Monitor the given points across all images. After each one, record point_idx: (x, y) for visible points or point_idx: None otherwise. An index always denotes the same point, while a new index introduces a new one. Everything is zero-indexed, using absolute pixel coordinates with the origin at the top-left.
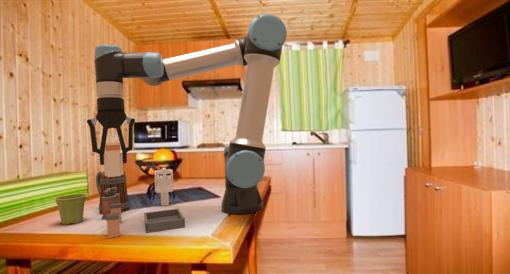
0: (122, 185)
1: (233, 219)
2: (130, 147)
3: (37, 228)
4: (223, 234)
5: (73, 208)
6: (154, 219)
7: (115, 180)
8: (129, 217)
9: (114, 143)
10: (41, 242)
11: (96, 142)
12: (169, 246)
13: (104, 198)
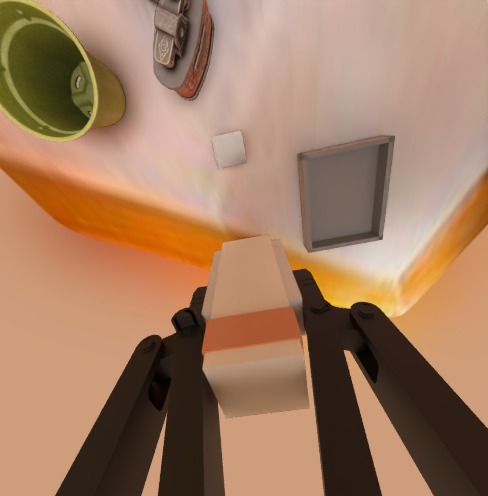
0: None
1: (476, 208)
2: (366, 355)
3: None
4: (414, 282)
5: (97, 125)
6: (322, 168)
7: None
8: (253, 96)
9: (279, 407)
10: (136, 244)
11: (150, 417)
12: (334, 304)
13: (172, 88)
